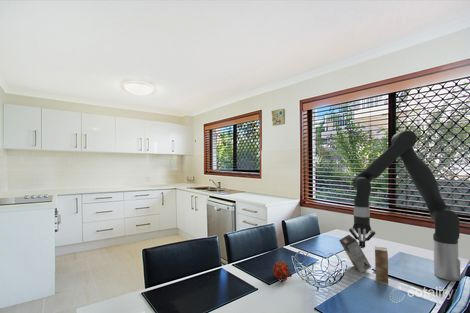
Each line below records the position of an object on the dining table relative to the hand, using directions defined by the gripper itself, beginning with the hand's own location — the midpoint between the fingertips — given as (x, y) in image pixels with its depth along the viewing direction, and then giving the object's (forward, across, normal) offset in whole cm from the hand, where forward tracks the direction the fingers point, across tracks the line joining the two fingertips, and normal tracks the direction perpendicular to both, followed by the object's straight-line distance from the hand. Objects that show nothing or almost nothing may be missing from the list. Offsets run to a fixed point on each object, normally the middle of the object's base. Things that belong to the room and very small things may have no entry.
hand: (362, 247), depth 129 cm
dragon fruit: (+12, +35, +29) cm, 47 cm away
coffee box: (+10, 0, 0) cm, 10 cm away
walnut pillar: (+11, -8, +9) cm, 17 cm away
